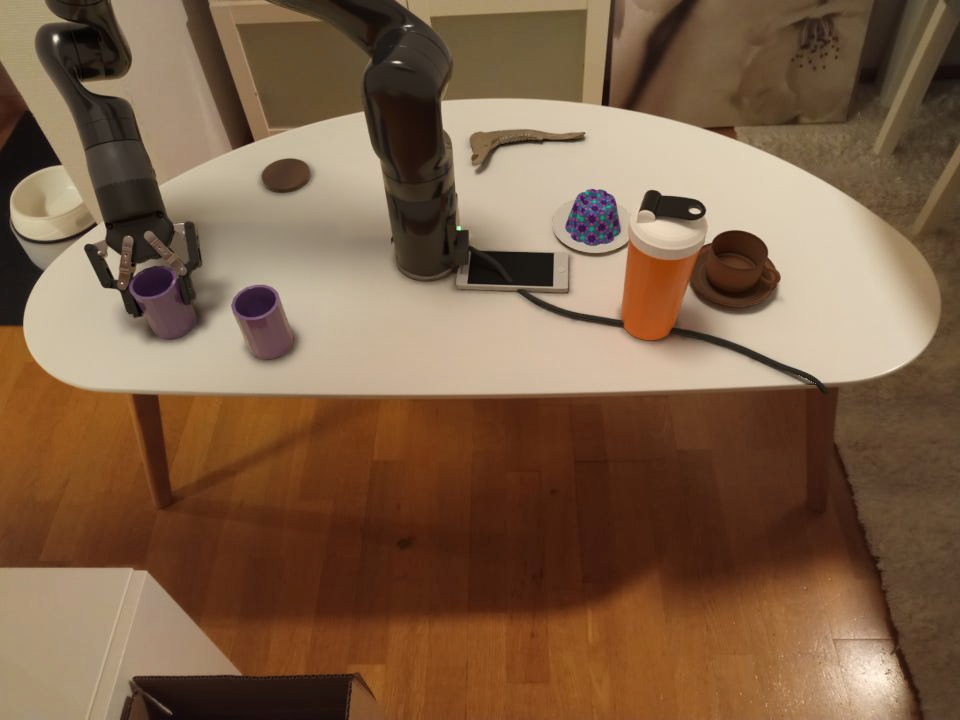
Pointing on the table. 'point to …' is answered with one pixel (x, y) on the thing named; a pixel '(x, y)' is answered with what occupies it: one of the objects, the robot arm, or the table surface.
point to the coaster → (286, 175)
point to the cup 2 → (262, 321)
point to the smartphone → (516, 271)
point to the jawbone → (490, 140)
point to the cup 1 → (162, 302)
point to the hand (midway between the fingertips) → (164, 310)
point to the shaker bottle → (660, 261)
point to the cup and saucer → (735, 270)
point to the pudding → (592, 222)
